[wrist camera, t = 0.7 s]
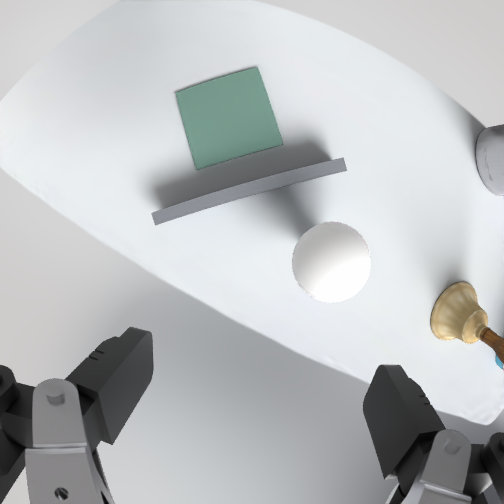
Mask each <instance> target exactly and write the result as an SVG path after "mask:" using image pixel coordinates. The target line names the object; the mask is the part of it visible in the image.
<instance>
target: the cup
mask: <svg viewBox="0 0 504 504" xmlns="http://www.w3.org/2000/svg"><path fill="white" fill-rule="evenodd" d="M496 363H497V365H498V366H499V367H500V368H501V369H503V370H504V364H503V363H502V362H501V361H500V359H499V358H498V356H497V355H496Z"/></svg>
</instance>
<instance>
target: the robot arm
mask: <svg viewBox="0 0 504 504" xmlns="http://www.w3.org/2000/svg"><path fill="white" fill-rule="evenodd" d="M476 160H477V166H478V170H479V173H480V176H481V178H482V180H483V182H484V184H485V186H486V187H487V188H488V189H489V190H490V191H491V192H492V193H493V194H496V195H500V196H504V124H503V125H498V126H493V127H488V128H486V129H484V130H483V131H482V132H481V133H480V135H479V137H478V140H477V145H476ZM152 375H153V340H152V333H151V332H149V331H145V330H141V329H138V328H134V327H129V328H128V329H127V330H126V331H125V332H124V333H123V334H122V335H121V336H120V337H112V338H110V339H108V340H106V341H103V342H102V343H101V344H100V345H99V346H98V347H97V348H96V349H95V351H93V352H92V353H91V354H90V355H89V357H88V358H86V359H85V360H84V361H83V362H82V363H81V364H80V365H79V366H78V367H77V368H76V369H75V370H74V371H73V372H72V373H71V374H70V375H69V376H68V377H67V378H66V379H65V380H63V379H48V380H45V381H43V382H41V383H40V384H38V386H36V387H33V386H29V385H25V384H21V383H17V382H16V380H15V377H14V374H13V372H12V370H11V369H9V368H8V367H6V366H3V365H0V504H1V503H2V502H3V500H4V498H5V496H6V495H7V494H8V492H9V490H10V489H11V487H12V486H13V484H14V483H15V481H16V479H17V478H18V476H19V475H20V473H21V472H22V470H23V469H24V467H25V466H26V474H27V484H28V491H29V498H30V504H115V502H114V500H113V498H112V495H111V493H110V490H109V487H108V484H107V481H106V478H105V475H104V472H103V468H102V465H101V461H100V458H99V454H98V451H97V448H96V447H97V446H98V444H99V443H100V441H104V442H106V443H109V444H111V445H113V443H114V442H115V440H116V438H117V437H118V435H119V433H120V432H121V430H122V428H123V427H124V425H125V423H126V421H127V420H128V418H129V417H130V415H131V413H132V412H133V410H134V408H135V407H136V405H137V403H138V402H139V400H140V398H141V396H142V395H143V393H144V392H145V390H146V389H147V387H148V385H149V384H150V382H151V379H152ZM425 396H426V395H425V393H424V392H423V390H422V389H421V387H420V386H419V385H418V384H417V383H416V382H414V381H413V380H412V379H411V378H408V376H407V375H406V373H405V371H404V370H403V368H402V367H401V366H400V365H380V366H379V367H378V368H377V370H376V372H375V375H374V377H373V380H372V382H371V384H370V387H369V389H368V391H367V393H366V396H365V398H364V402H363V412H364V416H365V419H366V422H367V425H368V428H369V431H370V434H371V437H372V440H373V444H374V447H375V450H376V453H377V456H378V460H379V463H380V466H381V470H382V473H383V477H384V479H385V480H386V479H392V478H398V481H399V482H398V483H397V485H396V486H395V487H394V489H393V491H392V493H391V494H390V496H389V498H388V500H387V502H386V503H385V504H488V503H487V501H486V498H485V496H484V493H483V491H484V490H485V489H486V488H487V487H489V486H490V485H491V483H493V485H494V487H495V489H496V491H497V493H498V496H499V498H500V500H501V504H504V433H501V432H499V433H495V434H493V435H492V436H491V438H490V439H489V440H488V441H487V443H486V444H470V441H469V440H468V438H467V437H466V436H465V435H464V434H462V433H460V432H458V431H456V430H452V429H446V428H445V427H444V425H443V423H442V421H441V420H440V418H439V416H438V415H437V413H436V411H435V410H434V408H433V406H432V405H430V401H429V400H428V398H427V397H425Z"/></svg>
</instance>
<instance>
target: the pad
mask: <svg viewBox="0 0 504 504" xmlns="http://www.w3.org/2000/svg"><path fill="white" fill-rule="evenodd" d="M176 97H177V101H178V105H179V108H180V112H181V116H182V120H183V123H184V127H185V131H186V134H187V138H188V141H189V145H190V149H191V152H192V156H193V159H194V163H195V166H196V170H199V169H202V168H205V167H208V166H211V165H214V164H217V163H221V162H224V161H227V160H230V159H234V158H237V157H240V156H244V155H247V154H251V153H254V152H258V151H261V150H265V149H269V148H272V147H276V146H280V145H283V142H282V138H281V135H280V132H279V129H278V126H277V123H276V119H275V116H274V113H273V110H272V107H271V104H270V101H269V98H268V95H267V92H266V89H265V87H264V84H263V81H262V78H261V75H260V72H259V70H258V67H256V68H252V69H248V70H244V71H241V72H237V73H233V74H230V75H227V76H223V77H220V78H217V79H214V80H211V81H208V82H205V83H202V84H199V85H196V86H193V87H190V88H187V89H185V90H182V91H179V92H177V93H176Z"/></svg>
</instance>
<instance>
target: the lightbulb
mask: <svg viewBox="0 0 504 504" xmlns="http://www.w3.org/2000/svg"><path fill="white" fill-rule="evenodd" d="M370 267H371V256H370V252H369V248H368V246H367V244H366V242H365V240H364V239H363V237H362V236H361V235H360V234H359V233H358V232H357V231H356V230H355V229H353V228H352V227H350V226H348V225H346V224H342V223H339V222H324V223H321V224H318V225H316V226H314V227H312V228H310V229H309V230H308V231H306V232H305V233H304V234H303V235H302V236H301V238H300V239H299V240H298V242H297V244H296V246H295V248H294V252H293V256H292V269H293V273H294V276H295V279H296V281H297V283H298V285H299V286H300V287H301V288H302V289H303V291H305V292H306V293H307V294H308V295H310V296H311V297H313V298H315V299H317V300H320V301H324V302H339V301H343V300H346V299H348V298H350V297H352V296H353V295H355V294H356V293H357V292H358V291H359V290H360V289H361V288H362V287H363V286H364V284H365V282H366V280H367V278H368V276H369V273H370Z"/></svg>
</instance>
